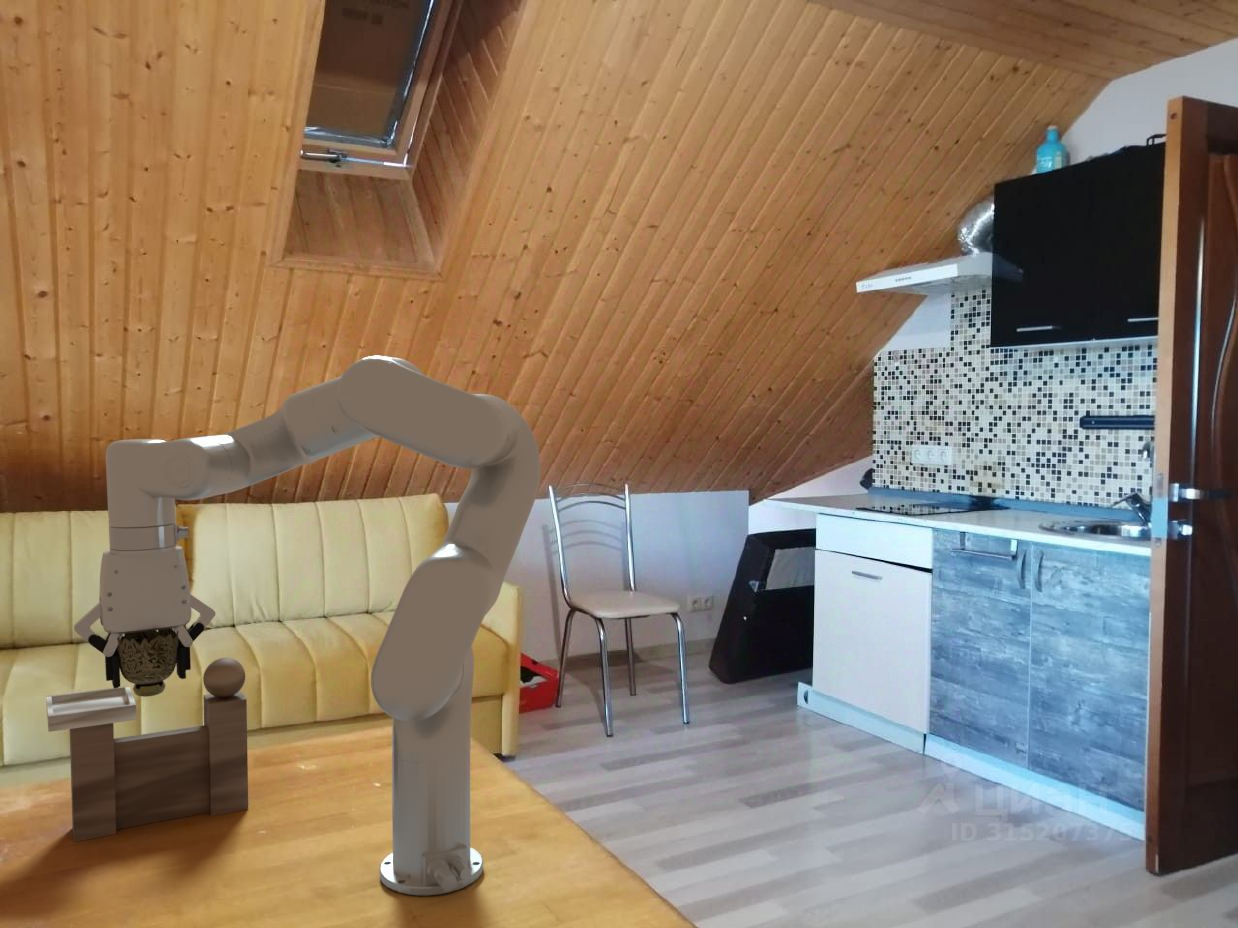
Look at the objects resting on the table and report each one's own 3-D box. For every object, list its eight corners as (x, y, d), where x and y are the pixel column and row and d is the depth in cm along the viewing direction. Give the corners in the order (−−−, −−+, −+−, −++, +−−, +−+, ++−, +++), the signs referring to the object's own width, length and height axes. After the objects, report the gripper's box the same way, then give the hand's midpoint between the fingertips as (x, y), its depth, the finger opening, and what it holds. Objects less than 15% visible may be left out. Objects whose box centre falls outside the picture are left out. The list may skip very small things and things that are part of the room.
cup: (156, 704, 123) (153, 638, 123) (102, 700, 125) (100, 636, 124) (194, 686, 130) (191, 625, 130) (142, 684, 132) (140, 622, 131)
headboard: (254, 814, 144) (251, 664, 142) (52, 853, 131) (47, 688, 130) (240, 790, 153) (238, 648, 151) (50, 824, 140) (45, 669, 139)
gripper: (212, 530, 134) (218, 664, 135) (62, 541, 125) (69, 684, 126) (222, 537, 127) (227, 677, 128) (64, 548, 119) (71, 699, 120)
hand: (149, 679), depth 127 cm, fingers closed on cup, 6 cm apart
